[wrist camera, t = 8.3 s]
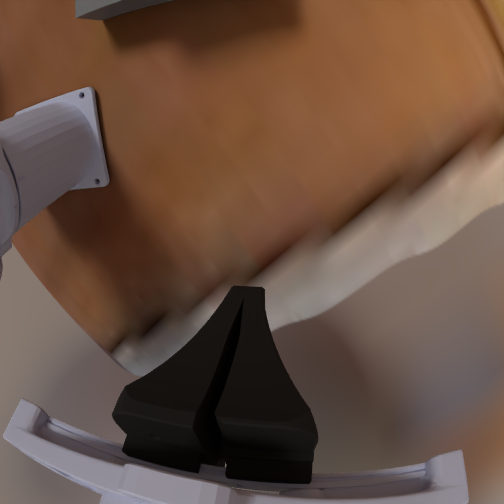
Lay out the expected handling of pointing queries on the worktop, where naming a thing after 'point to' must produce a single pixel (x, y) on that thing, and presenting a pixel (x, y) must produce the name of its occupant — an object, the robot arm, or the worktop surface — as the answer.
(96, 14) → the switch box
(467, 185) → the worktop surface
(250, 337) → the robot arm
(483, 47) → the worktop surface
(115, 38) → the worktop surface
